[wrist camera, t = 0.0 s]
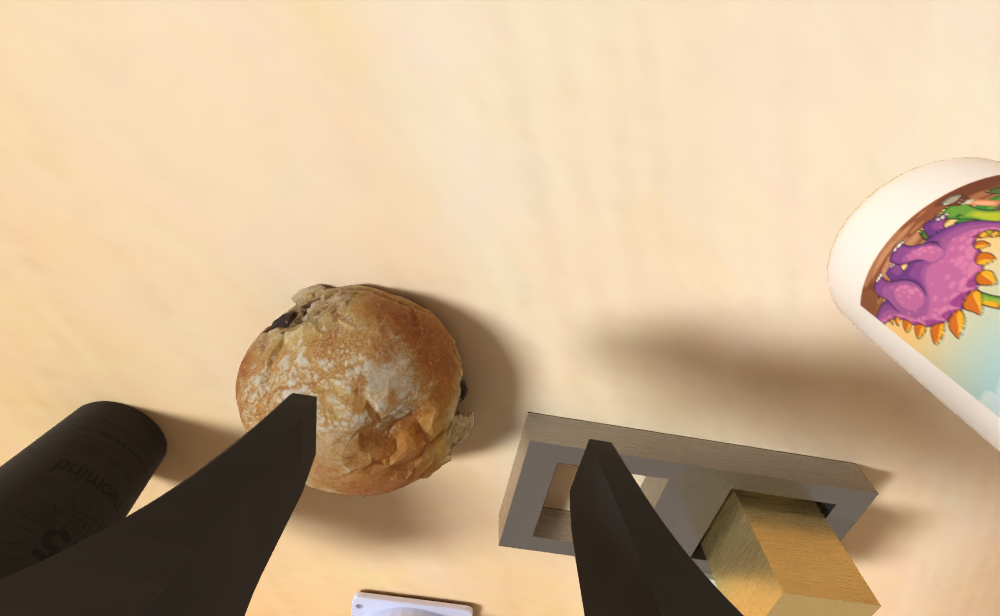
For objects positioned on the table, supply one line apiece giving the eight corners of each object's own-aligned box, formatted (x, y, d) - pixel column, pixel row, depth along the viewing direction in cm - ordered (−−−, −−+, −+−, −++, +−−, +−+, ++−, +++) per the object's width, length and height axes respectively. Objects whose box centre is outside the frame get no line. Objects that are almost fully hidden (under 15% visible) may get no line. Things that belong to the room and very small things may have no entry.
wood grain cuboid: (764, 531, 30) (829, 659, 24) (692, 521, 30) (739, 648, 24) (800, 478, 28) (881, 605, 22) (722, 467, 28) (783, 593, 22)
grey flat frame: (786, 555, 31) (803, 586, 29) (499, 515, 30) (498, 545, 28) (855, 463, 27) (878, 493, 26) (528, 412, 26) (529, 440, 24)
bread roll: (405, 233, 25) (296, 238, 18) (530, 400, 25) (472, 479, 17) (286, 344, 29) (151, 388, 21) (393, 493, 28) (294, 593, 20)
